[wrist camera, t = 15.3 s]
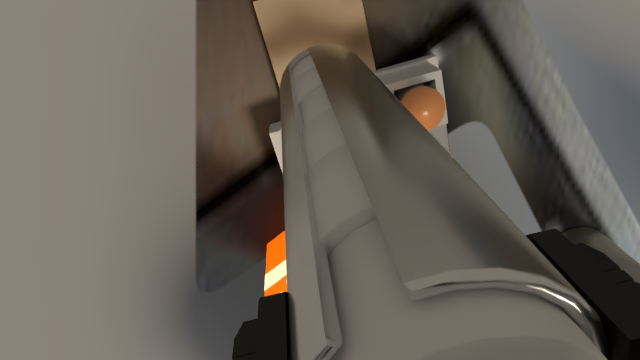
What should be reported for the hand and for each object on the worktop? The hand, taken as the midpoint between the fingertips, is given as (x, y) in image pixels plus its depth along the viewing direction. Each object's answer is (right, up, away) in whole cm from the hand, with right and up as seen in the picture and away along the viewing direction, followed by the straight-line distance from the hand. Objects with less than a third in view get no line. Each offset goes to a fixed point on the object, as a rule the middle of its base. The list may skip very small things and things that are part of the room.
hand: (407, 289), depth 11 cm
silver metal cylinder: (-2, +9, +19) cm, 21 cm away
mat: (-3, +17, +31) cm, 35 cm away
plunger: (+7, +12, +32) cm, 35 cm away
